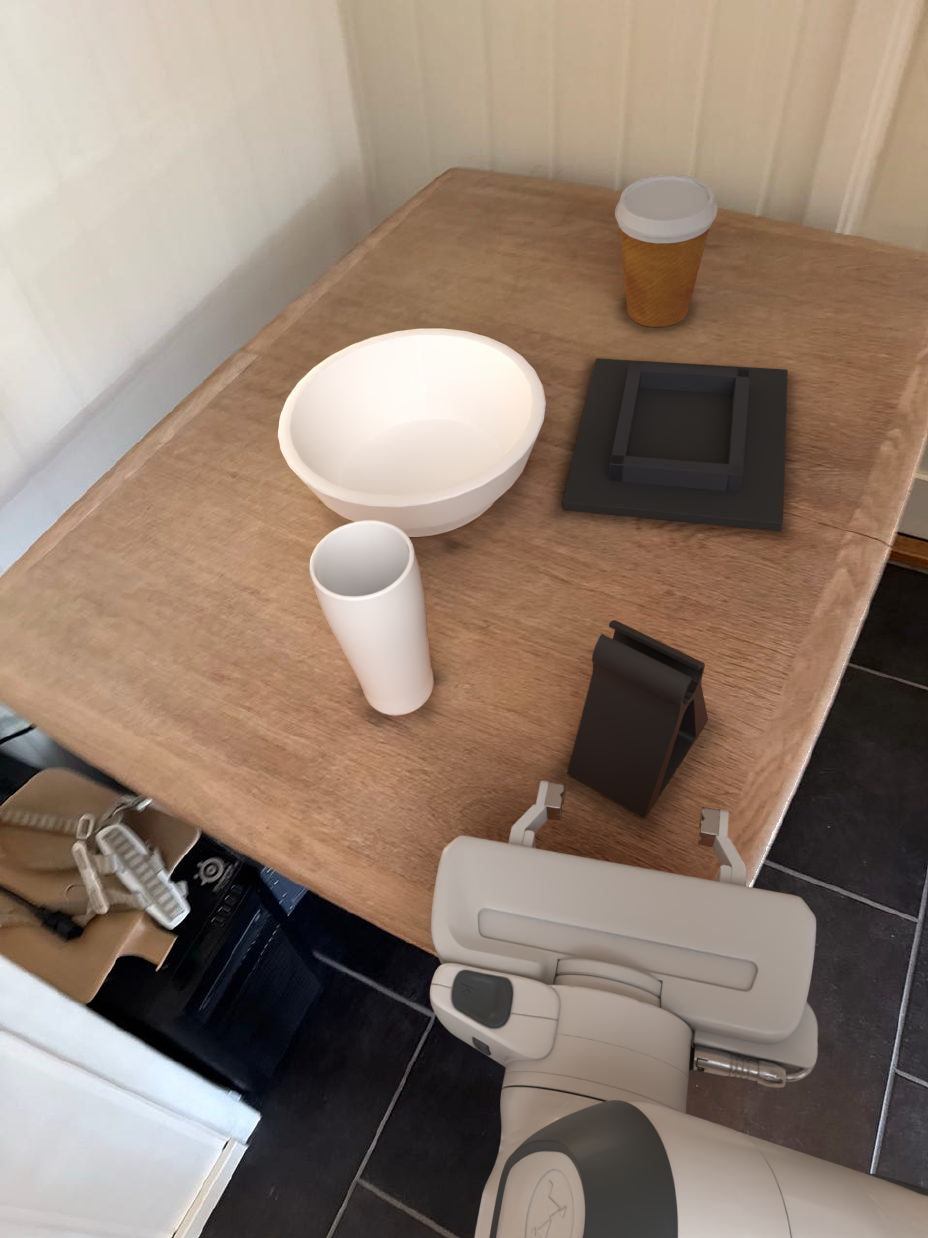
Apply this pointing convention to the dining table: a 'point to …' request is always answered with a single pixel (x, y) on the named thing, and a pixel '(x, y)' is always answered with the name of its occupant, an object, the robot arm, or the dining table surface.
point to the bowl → (414, 427)
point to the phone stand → (637, 718)
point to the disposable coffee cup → (663, 244)
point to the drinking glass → (376, 611)
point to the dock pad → (682, 444)
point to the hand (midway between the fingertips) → (632, 798)
